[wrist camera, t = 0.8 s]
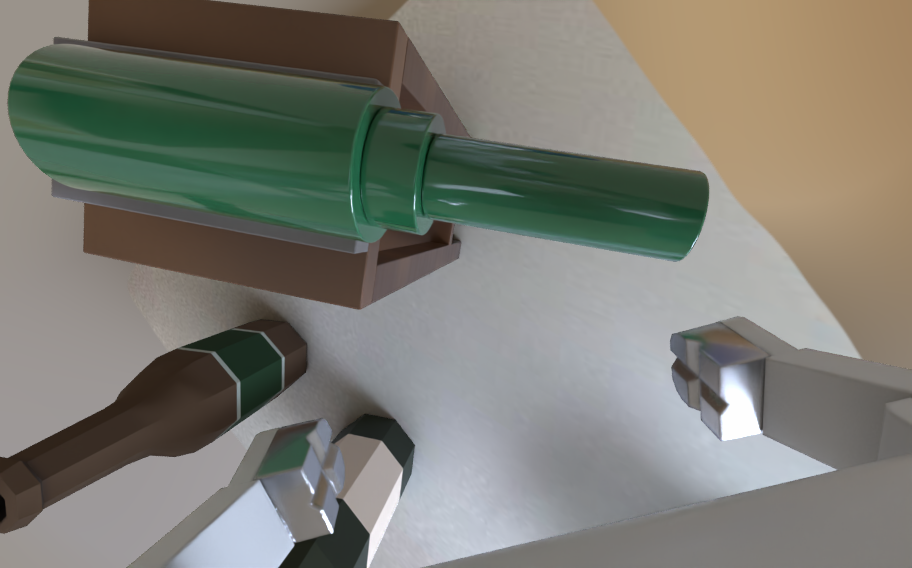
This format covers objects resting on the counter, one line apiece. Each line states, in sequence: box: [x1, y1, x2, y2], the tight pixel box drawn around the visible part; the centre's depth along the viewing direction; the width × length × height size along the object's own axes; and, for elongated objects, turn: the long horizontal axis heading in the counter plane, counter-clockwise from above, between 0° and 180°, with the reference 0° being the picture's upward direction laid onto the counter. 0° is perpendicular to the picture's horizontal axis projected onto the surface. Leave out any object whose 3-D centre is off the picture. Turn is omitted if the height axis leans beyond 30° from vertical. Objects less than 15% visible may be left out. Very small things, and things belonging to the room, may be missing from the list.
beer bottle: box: [0, 320, 307, 533], centre depth 32 cm, size 8×8×24 cm
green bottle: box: [7, 44, 709, 262], centre depth 12 cm, size 18×4×4 cm, turn 80°
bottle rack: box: [52, 0, 471, 310], centre depth 27 cm, size 10×12×25 cm
